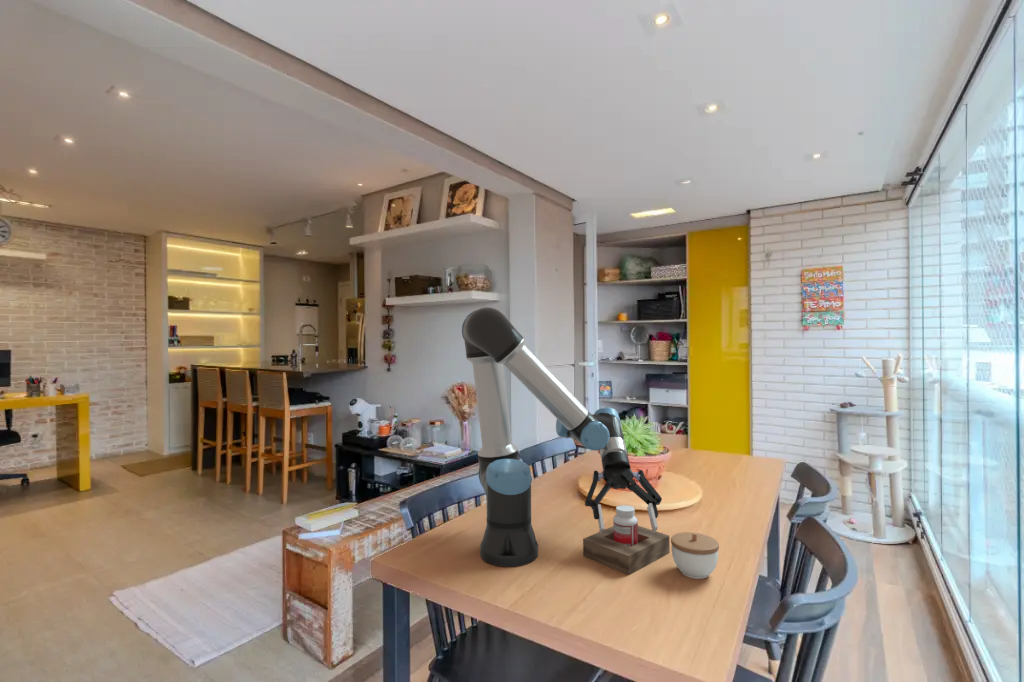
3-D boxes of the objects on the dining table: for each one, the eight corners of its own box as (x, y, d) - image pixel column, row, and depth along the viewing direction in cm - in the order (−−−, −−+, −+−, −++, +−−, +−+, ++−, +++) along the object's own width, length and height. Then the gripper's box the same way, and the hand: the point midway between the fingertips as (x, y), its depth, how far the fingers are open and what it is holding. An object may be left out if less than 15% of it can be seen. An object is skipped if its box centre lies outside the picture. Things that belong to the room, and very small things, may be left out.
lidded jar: (714, 588, 113) (713, 546, 113) (665, 576, 119) (665, 536, 119) (722, 569, 122) (722, 530, 122) (677, 559, 128) (677, 522, 128)
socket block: (629, 575, 120) (628, 556, 120) (583, 556, 130) (583, 538, 130) (669, 552, 132) (669, 535, 132) (624, 537, 142) (624, 521, 142)
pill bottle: (629, 544, 135) (629, 502, 135) (642, 553, 129) (642, 510, 129) (609, 547, 133) (608, 505, 133) (621, 557, 127) (621, 513, 127)
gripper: (654, 463, 147) (673, 535, 132) (569, 464, 146) (578, 537, 131) (660, 449, 141) (681, 522, 126) (572, 450, 140) (581, 524, 125)
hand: (628, 530), depth 129 cm, fingers open, 13 cm apart
